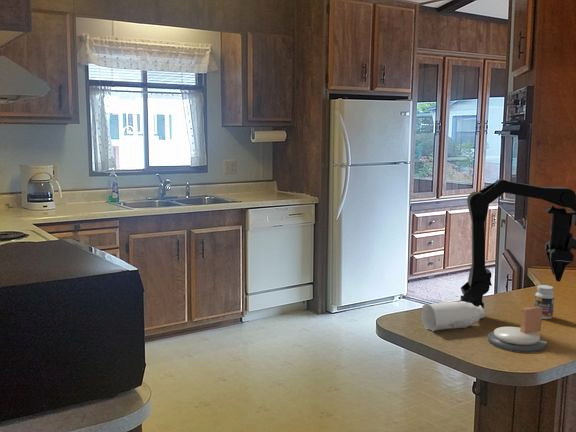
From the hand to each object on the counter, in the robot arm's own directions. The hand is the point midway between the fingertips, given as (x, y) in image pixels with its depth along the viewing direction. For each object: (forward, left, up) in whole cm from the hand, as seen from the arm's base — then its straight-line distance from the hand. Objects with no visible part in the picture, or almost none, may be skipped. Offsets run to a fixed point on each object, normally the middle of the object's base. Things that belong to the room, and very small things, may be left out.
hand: (556, 278), depth 190 cm
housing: (-17, -23, -14) cm, 32 cm away
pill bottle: (-2, +3, -14) cm, 14 cm away
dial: (-16, -22, -12) cm, 30 cm away
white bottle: (-33, -11, -14) cm, 38 cm away
